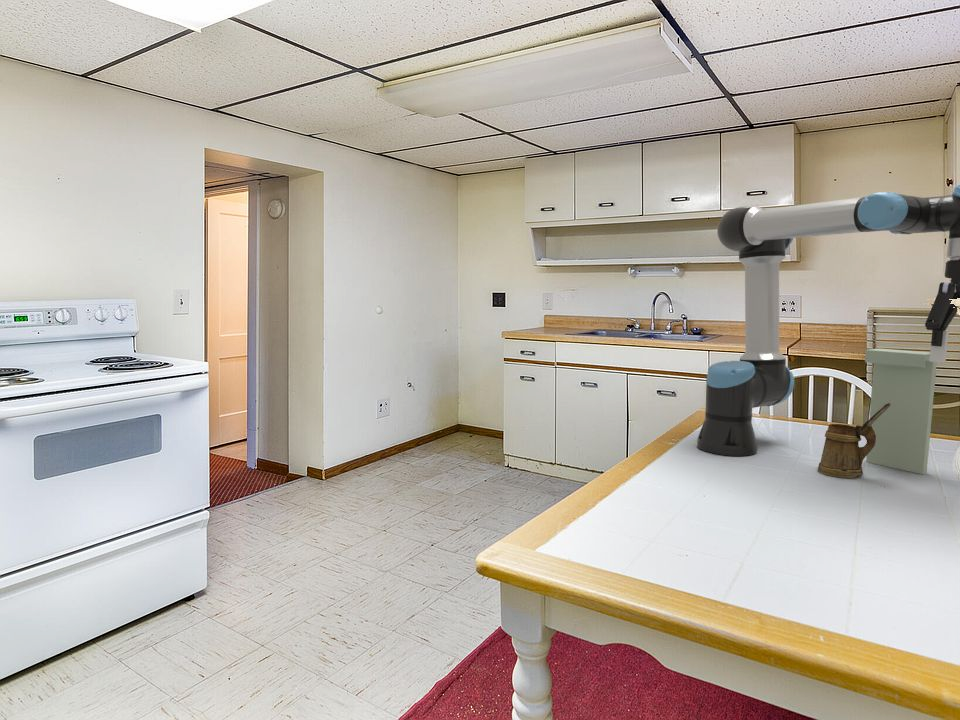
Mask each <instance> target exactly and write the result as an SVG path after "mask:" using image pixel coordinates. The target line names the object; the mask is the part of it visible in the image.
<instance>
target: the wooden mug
mask: <svg viewBox="0 0 960 720" xmlns="http://www.w3.org/2000/svg"><path fill="white" fill-rule="evenodd" d="M889 407H890V403H888V404H886V405H884V406H883V407H882V408H881V409H880V410H879V411H878V412H877V413H876V414H875V415H873V416H872V417H871V418H870V417H869V418H870V419H869V418H868V420H867V421H866V422H864V423H863V424H857V425H856V426H853V425H849V424H843V423H842V424H841V423H830V424H828V426H827V430H826V431H825V434H824V437H825V440H824V441H825V442H824V445H823V449H822V454H821V458H820V462H819V463H818V466H817V471H818V472H819V473H821V474H823V475H826V476H829V477H833V478H834V477H835V478H840V479H857V478H861V476H863V475H864V471H863V462H864V460H865V459H866V456H867V454H868V453H869V452H870V451H871V450H872V449H873V447H874V446H875V443H876V435H875V432H874V430H873V428H872V426H871V425H872V424H873V423H874V422H875V421H876V420H877V419H878V418H879V417H880V416H881V415H882V414H883V413H884V412H885V411H886V410H887V409H888V408H889ZM862 437H864V439H865V440H866V443H865V445H864V446H859V442H861V441H862Z"/></svg>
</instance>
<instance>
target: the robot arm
mask: <svg viewBox="0 0 960 720" xmlns="http://www.w3.org/2000/svg"><path fill="white" fill-rule="evenodd" d="M882 231H883V232H885V231H887V232H890V233H891V234H895V235H898V234H899V235H912V234H923V233H940V232H942V233H944V232H949V233H948V240H947V241H948V242H947V249H946V258H947V259H949V260H947V261H946V262H945V269H944V277H945V279H951V280H950V281H949V282H940V283H939V286H938V290H937V294H936V296H935V300H933V303H932V307H931V309H930V311H929V312H928V315H927V316H928V317H927V318H926V320H925V323H924V326H925V328H926V330H927V331H931V341H930V342H931V343H930V348H929V349H930V350H929V352H930V358H929V361H931V362H937V363H940V364H941V363H942V364H945V363H946V361H947V359H946V358H947V353H948V351H947V350H948V342H949V334H950V332H949V331H948V330H947V329H948V327H949V326H950V324H951V323H952V320H953V319H954V317H955V316H956V314H957V313H958V311H957V307H956V306H955V305H954V304H950V303H951V301H952V300H949V299H957V298H960V183H958V184H956V185H955V187H954V188H953V191H952V194H948V195H941V196H930V197H929V196H928V197H922V196H921V197H920V196H913V195H907V194H901V193H896V192H892V191H880V192H879V191H878V192H874V193H870V194H869V195H868V196H861V197H854V198H853V197H851V198H844V199H838V200H830V201H829V200H827V201H822V202H814V203H805V204H798V205H790V206H783V207H782V206H781V207H774V208H767V209H766V208H762V207H760V206H749V207H747V206H746V207H745V206H740V207H735V208H731V209H730V210H728V211H726V212H725V213H724V214H722V216H721V218H720V219H719V222H718V223H717V232H716V233H717V237H718V240H719V241H720V243H721V244H722V246H723V247H725V248H726V249H728V250H729V251H730V250H731V251H733V252H738V261H739V263H741V264H742V265H743V267H744V298H745V299H744V304H745V305H744V307H745V309H744V316H745V318H744V320H745V321H744V323H745V324H744V325H745V326H744V327H745V328H744V329H745V331H744V332H745V336H744V337H745V348H744V349H745V351H744V353H743V355H741V356H740V357H739V360H730V361H721V362H720V361H719V362H716V363H713V364H711V365H710V366H709V367H708V369H707V375H706V379H705V382H706V384H705V385H706V387H705V388H706V390H705V415H704V421H703V424H702V426H701V429H700V430H699V431H700V432H699V433H698V436H697V439H696V440H697V441H696V447H697V448H698V449H699V450H701V451H704V452H707V453H710V454H715V455H722V456H732V457H734V456H735V457H746V456H752V455H755V454H757V453H758V445H759V444H758V441H757V437H756V433H755V430H754V426H753V423H752V422H753V421H752V420H753V409H755V408H761V407H771V406H775V405H778V404H781V403H783V402H785V401H786V400H787V399H788V398H789V397H791V394H792V393H793V390H794V388H795V377H794V375H793V372H792V371H791V370H790V367H788V366H787V365H786V356H785V355H784V354H782V353H781V351H780V264H781V262H783V261H784V260H785V259H786V250H787V249H788V248H789V247H790V244H792V242H793V240H794V239H795V238H796V239H797V238H807V237H808V238H809V237H821V236H830V235H831V236H833V235H843V234H854V233H856V234H857V233H872V232H882ZM953 307H955V308H953Z"/></svg>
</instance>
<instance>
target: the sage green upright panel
mask: <svg viewBox="0 0 960 720" xmlns="http://www.w3.org/2000/svg"><path fill="white" fill-rule="evenodd" d="M864 358H865V359H864V363H868V364H869V363H871V364H873V367H872V368H873V369H872V380H871V382H872V383H871V394H870V407H869V408H870V410H869V418H868V420H869V419H870V418H871V417H872V416H873V415H875V414H876V413H877V412H878V411H879V410H880V409H881V408H882V407H883V406H884V405H886V404H888V403H890V407H889V408H888V409H887V410H886V411H885V412H884V413H883V414H882V415H881V416H880V417H879V418H878V419H877V420H876V421H875V422H874V423H873V424H872V425H871V426H872V428H873V430H874V432H875V435H876V443H875V446H874V447H873V449H872V450H871V451H870V452H869V453H868V454H867V456H866V457H865V462H866V463H869V464H870V463H871V464H875V465H880V466H885V467H889V468H892V469H896V470H897V469H898V470H902V471H907V472H910V473H916V474H920V475H924V474H927V471H928V462H929V452H930V451H929V450H930V439H931V430H932V420H933V419H932V418H933V409H934V408H933V407H934V395H935V386H936V374H937V366H938V365H937V364H938V362H931V361H929V358H930V351H929V352H928V351H916V350H915V351H914V350H902V349H892V348H891V349H888V348H872V349H871V348H869V349H865V356H864Z"/></svg>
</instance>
